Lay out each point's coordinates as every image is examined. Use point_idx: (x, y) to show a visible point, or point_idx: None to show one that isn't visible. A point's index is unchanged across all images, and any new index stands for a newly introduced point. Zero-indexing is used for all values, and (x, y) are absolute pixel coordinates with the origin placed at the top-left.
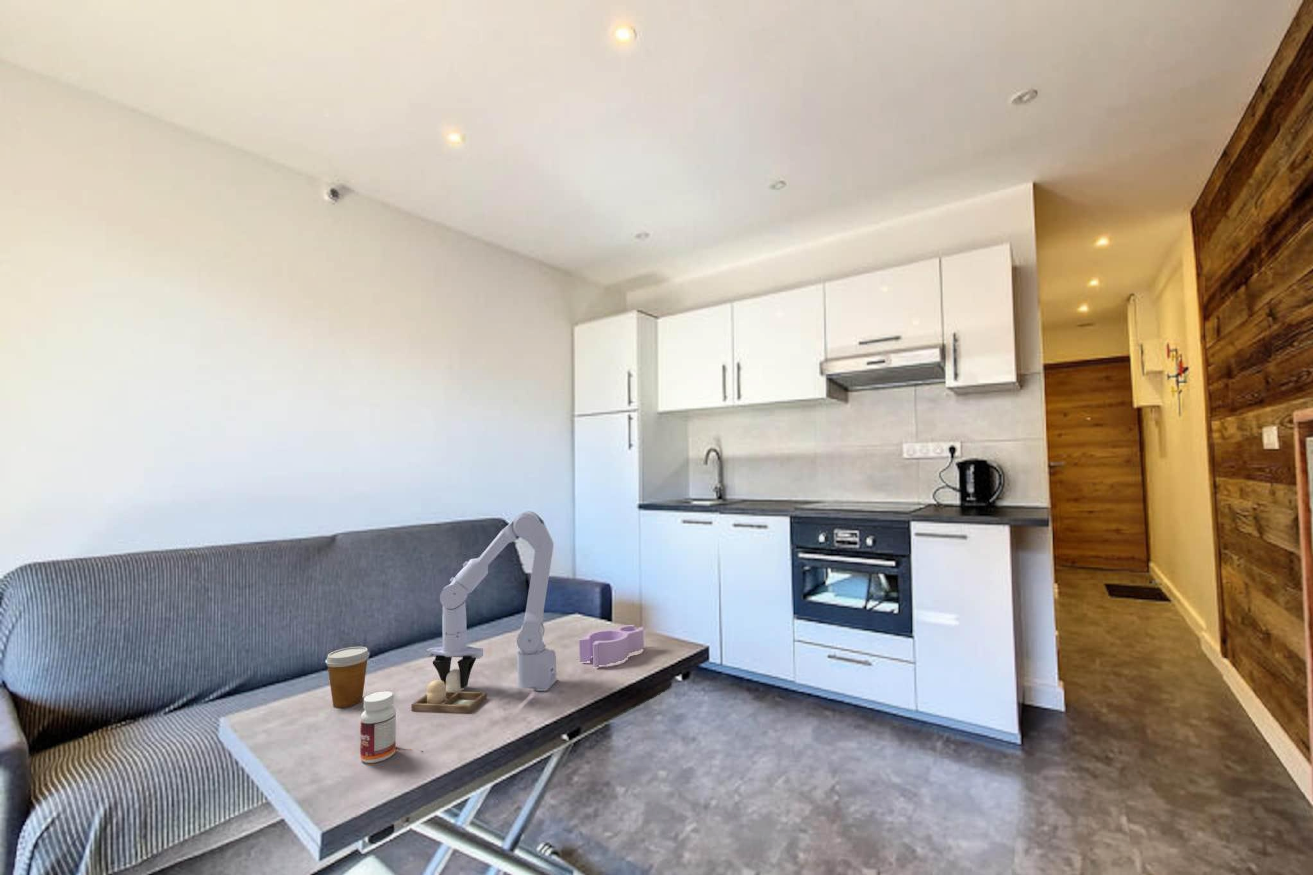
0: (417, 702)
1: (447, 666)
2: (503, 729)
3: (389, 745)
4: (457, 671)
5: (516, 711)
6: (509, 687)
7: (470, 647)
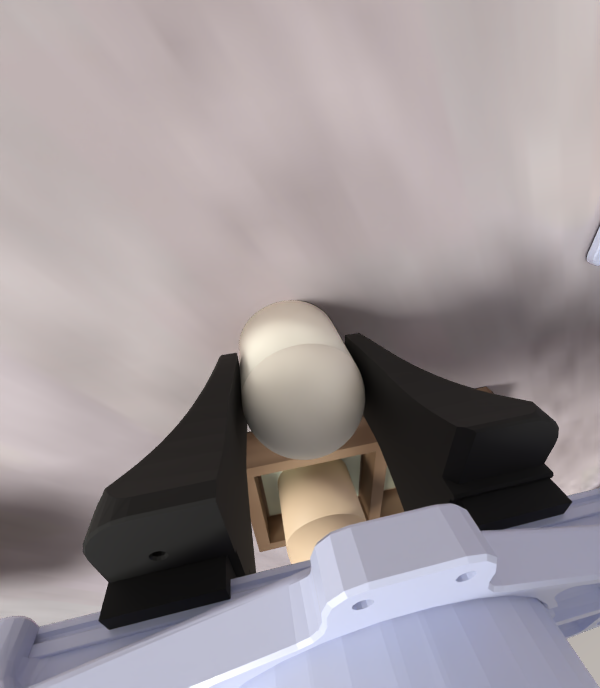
0: (268, 537)
1: (235, 461)
2: (559, 481)
3: None
4: (343, 438)
5: (594, 409)
6: (570, 219)
7: (593, 572)
